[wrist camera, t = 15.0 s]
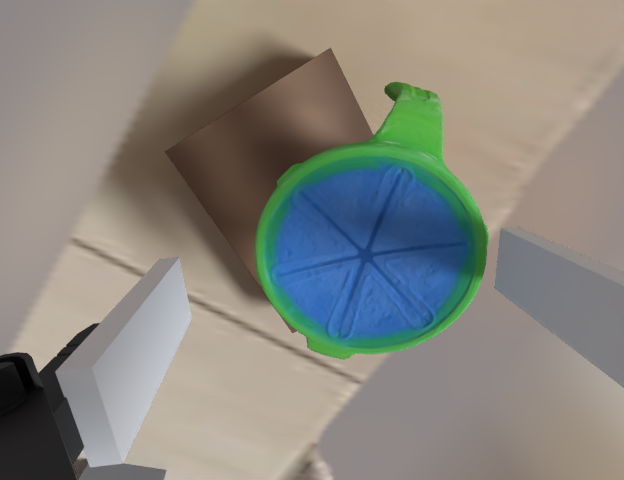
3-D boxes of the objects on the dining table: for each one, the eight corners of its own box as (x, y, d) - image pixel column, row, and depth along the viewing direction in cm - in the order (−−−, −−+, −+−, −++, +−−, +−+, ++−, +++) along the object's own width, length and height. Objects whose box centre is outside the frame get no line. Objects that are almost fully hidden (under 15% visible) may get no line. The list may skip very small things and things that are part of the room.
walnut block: (291, 303, 34) (292, 333, 29) (185, 147, 29) (165, 151, 24) (412, 238, 32) (433, 257, 28) (323, 60, 27) (330, 47, 22)
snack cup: (379, 314, 28) (391, 419, 19) (259, 264, 28) (210, 345, 18) (488, 129, 23) (585, 147, 13) (338, 61, 22) (328, 29, 13)
